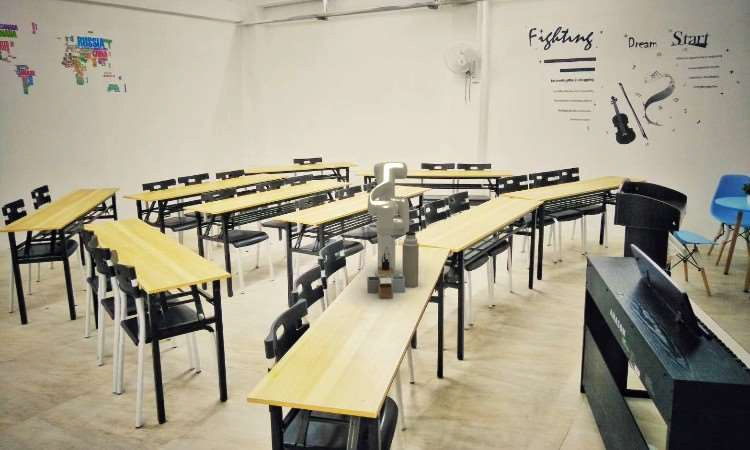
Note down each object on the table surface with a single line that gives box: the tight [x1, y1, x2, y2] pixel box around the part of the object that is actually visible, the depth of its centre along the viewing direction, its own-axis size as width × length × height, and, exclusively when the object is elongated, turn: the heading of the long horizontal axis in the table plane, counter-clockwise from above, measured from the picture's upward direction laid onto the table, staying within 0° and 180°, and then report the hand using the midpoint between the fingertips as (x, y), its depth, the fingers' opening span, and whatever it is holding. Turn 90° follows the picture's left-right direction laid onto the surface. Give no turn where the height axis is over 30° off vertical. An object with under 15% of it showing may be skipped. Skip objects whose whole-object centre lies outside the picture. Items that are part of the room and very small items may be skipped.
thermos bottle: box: [401, 231, 420, 289], centre depth 269 cm, size 8×8×28 cm
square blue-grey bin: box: [390, 275, 406, 294], centre depth 264 cm, size 6×6×7 cm
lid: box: [377, 266, 394, 274], centre depth 254 cm, size 7×7×6 cm
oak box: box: [377, 282, 394, 300], centre depth 256 cm, size 6×6×6 cm
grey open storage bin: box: [366, 275, 381, 294], centre depth 263 cm, size 6×6×7 cm
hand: (385, 267), depth 254 cm, fingers closed on lid, 2 cm apart
